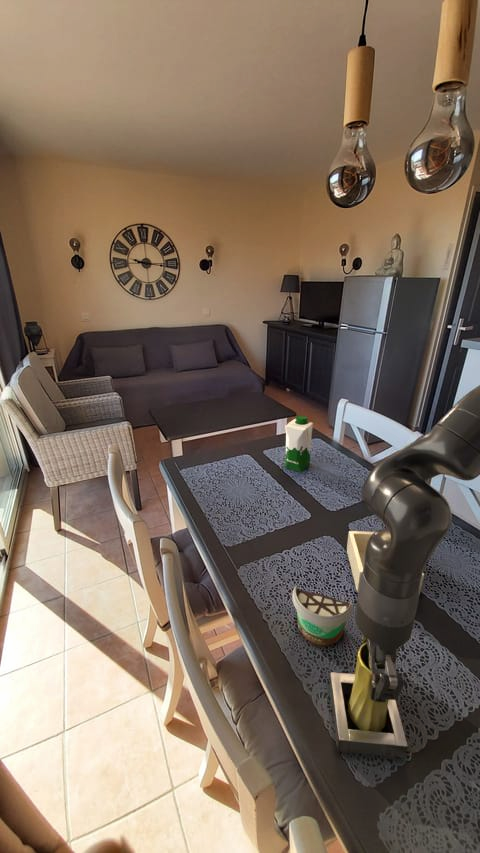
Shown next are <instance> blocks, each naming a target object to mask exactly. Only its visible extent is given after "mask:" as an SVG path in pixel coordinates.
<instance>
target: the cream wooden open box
mask: <svg viewBox="0 0 480 853" xmlns="http://www.w3.org/2000/svg"><path fill="white" fill-rule="evenodd" d="M375 532H376V531H360V530H349V531H348V535H347V545H346V552H347V557H348V561H349V565H350V569H351V574H352V577H353V582H354V586H355V590H356V592H357V593H358V590H359V582H360V578H361V575H362V572H363V567H364V559H365V552H366V547H367V543H368V540H369V538H370V536H371V535H372V534H373V533H375ZM424 579H425V574H424V572H423V573H422V578H421V582H420V587H419V596H420V595H421V591H422V586H423V582H424Z"/></svg>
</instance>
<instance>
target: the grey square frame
mask: <svg viewBox="0 0 480 853" xmlns="http://www.w3.org/2000/svg"><path fill="white" fill-rule="evenodd" d="M329 673H330V674H329V682H328V685H329V686H328V687H329V693H330V694H329V695H330V703H331V709H332V710H331V711H332V718H333V725H334V733H335V741H336V742H335V743H336V749H337V750H336V751H337V752H338V753H348V754H349V753H350V754H359V755H370V756H380V757H388V758H389V757H390V758H399V759H405V758H406V755H407V751H408V747H409V746H408V742H407V738H406V734H405V731H404V726H403V723H402V720H401V716H400V712H399V708H398V705H397V700H389V701H388V707H387V713H386V724H385V726H386V729H387V732H382V731H380V732H373V731H362V730H361V729H349V727H348V720H347V713H346V705H345V699H344V695H351V693H352V688H353V683H354V678H355V673H344V672H332V671H331V672H329Z"/></svg>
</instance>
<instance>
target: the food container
mask: <svg viewBox="0 0 480 853" xmlns="http://www.w3.org/2000/svg"><path fill="white" fill-rule="evenodd" d="M291 597H292V598H291V600H292V603H293V606H294V608H295V609H296V610H295V611H296V617H297V626H298V629H299V632H300V634H301V635H302V636H303V637H304V638H305V639H306V640H307V641H308V642H310V643H312V644H313V645H316V646H321V647H328V646H332V645H335V644H336V643H337V642H339V640H340V639H341V638H342V635H343V634H344V630H345V627H346V623H347V621H348V620H349V619H350V618H351V617H352V615H353V612H354V603H353V601H352V599H351V600H350V602H347V601H341V600H338V599H335V598H334V597H330V596H328V595H325V594H322V593H315V592H311V591H307V590H303V589H299V588H297V585H295V586H294V587H293V590H292V596H291Z"/></svg>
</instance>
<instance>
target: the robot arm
mask: <svg viewBox="0 0 480 853" xmlns="http://www.w3.org/2000/svg"><path fill="white" fill-rule="evenodd" d="M440 475H446V476H449V477H453V478H455V479H458V480H460V481H465V482H467V481H469V482H470V481H473V480H475V479H476V478H478V477H479V476H480V384H479V385H478V386H476V387H474V388H473V389H472V390H470V391H469V392H468V393H466V394H465V395H463V397H461V398H460V399H459V400H458V401H457V402H456V403H455V404H454V405H453V406H452V407H451V408H450V409H449V410H448V411H447V412H446V413H445V414H444V415H443V416H442V418H441V419H439V421H437V423H436V424H435V425H434V426H432V428H431V429H430V430H429V431H428V432H427V433H426V434H424V435H422V436H421V437H419V438H417V439H415V440H413V441H412V442H410V443H409V444H407V445H405V446H404V447H402V448H401V449H399V450H397V451H396V452H394V453H393V454H391V455H390V456H388V457H386V458H384V459H383V460H381V461H380V462H379V463H377V465H375V466H374V467H373V468H372V469H371V470H370V472H368V474H367V476H365V479H364V482H363V485H362V489H361V496H362V497H361V498H362V501H363V502H364V504H365V506H366V508H368V510H369V511H371V512H372V514H374V516H375V517H376V518H377V519H378V520H379V521H380V522H381V523H382V525H384V526H385V527H386V528H382V529H378V530H376V531H374V532H375V533H373V534H372V535H371V536H370V538H369V540H368V543H367V547H366V552H365V559H364V567H363V572H362V575H361V578H360V582H359V590H358V592H357V598H356V606H355V614H354V616H355V622H356V626H357V627H358V629H359V631H360V632H361V634H362V635H361V639H362V642H363V643H362V645H363V644H364V643H366V642H367V647H368V649H369V667H370V669H371V672H372V684H371V690H370V697H371V700H374V701H375V702H384V703H385V701H386V699H388V700H395V701H397V699H398V697H399V695H400V693H401V691H402V689H403V688H404V684H405V681H404V678H403V676H402V675H401V674H400V675H399V674H396V672H397V656H398V654H399V648H401V647H402V646H404V645H405V644H406V643H408V641H409V640H410V639H411V636H412V632H413V628H414V623H415V619H416V615H417V611H418V607H419V606H418V605H419V600H420V595H419V587H420V582H421V578H422V573H423V574H424V569H425V566H426V564H428V561H429V560H430V559H431V557H432V555H433V554H434V553H435V551H436V549H437V548H438V547H439V545H440V544H441V543H442V541H444V538H445V537H446V536H447V534H448V533H449V531H450V529H451V527H452V522H453V515H452V509H451V505H450V503H449V501H448V500H447V497H446V496H444V495H443V494H442V493H441V492H440V491H438V489H436V488H434V487H433V486H432V485H430V484H429V483H428V482H427V481H428V480H431V479H433V478H435V477H438V476H440ZM375 660H376V661H377V662H379V663H375ZM378 674H380V678H378Z"/></svg>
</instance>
